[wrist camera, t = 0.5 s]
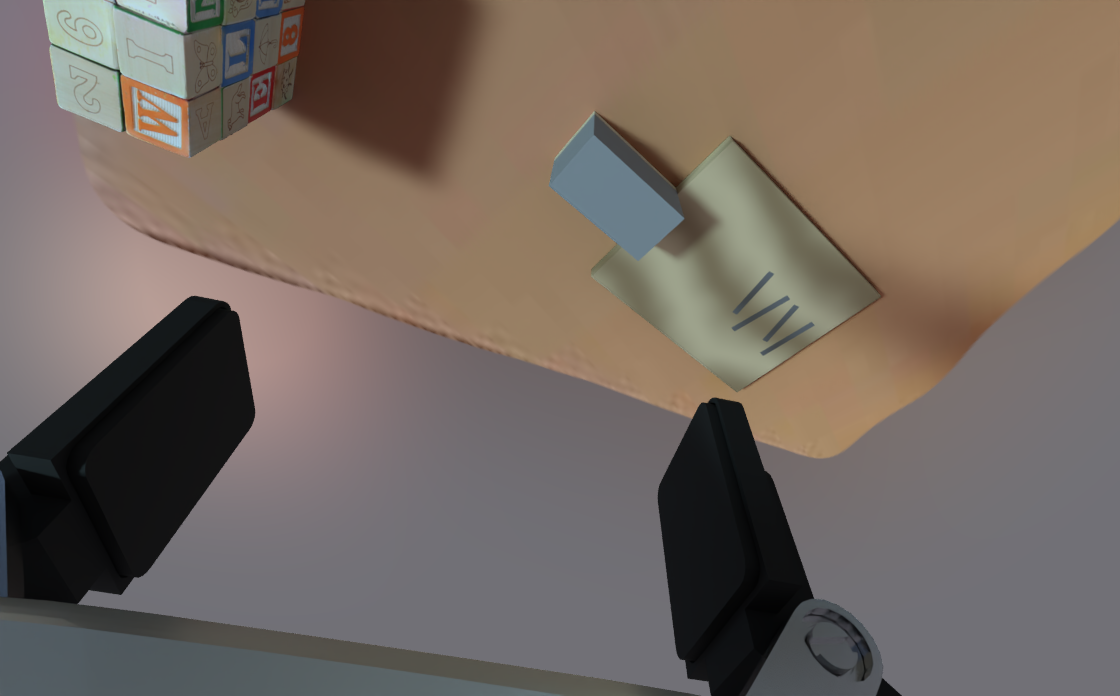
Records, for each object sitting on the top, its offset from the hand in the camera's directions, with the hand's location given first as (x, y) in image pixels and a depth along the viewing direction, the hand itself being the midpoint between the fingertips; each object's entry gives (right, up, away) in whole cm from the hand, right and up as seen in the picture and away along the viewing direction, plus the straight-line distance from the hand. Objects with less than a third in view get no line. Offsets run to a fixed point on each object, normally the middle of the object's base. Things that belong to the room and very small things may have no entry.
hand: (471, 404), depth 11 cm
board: (+16, +7, +32) cm, 37 cm away
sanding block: (+6, +14, +28) cm, 32 cm away
